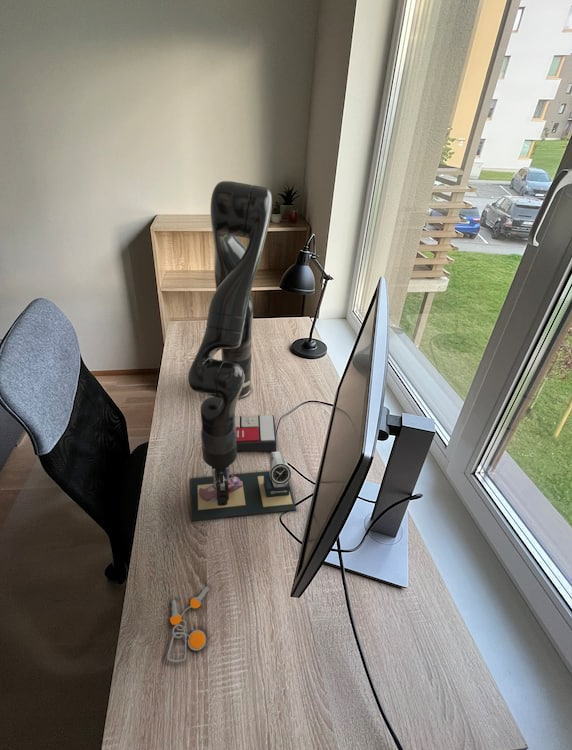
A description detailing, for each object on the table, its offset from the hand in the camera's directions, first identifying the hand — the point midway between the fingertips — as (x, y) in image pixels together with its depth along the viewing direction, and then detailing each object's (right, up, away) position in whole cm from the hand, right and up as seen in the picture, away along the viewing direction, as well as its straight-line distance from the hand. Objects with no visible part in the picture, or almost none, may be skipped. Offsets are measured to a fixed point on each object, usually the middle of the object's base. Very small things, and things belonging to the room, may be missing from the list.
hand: (221, 490), depth 95 cm
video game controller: (0, -1, +1) cm, 2 cm away
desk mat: (+5, -1, +2) cm, 5 cm away
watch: (+13, 0, +2) cm, 13 cm away
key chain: (-5, -17, -22) cm, 28 cm away
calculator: (+6, +9, +18) cm, 21 cm away
